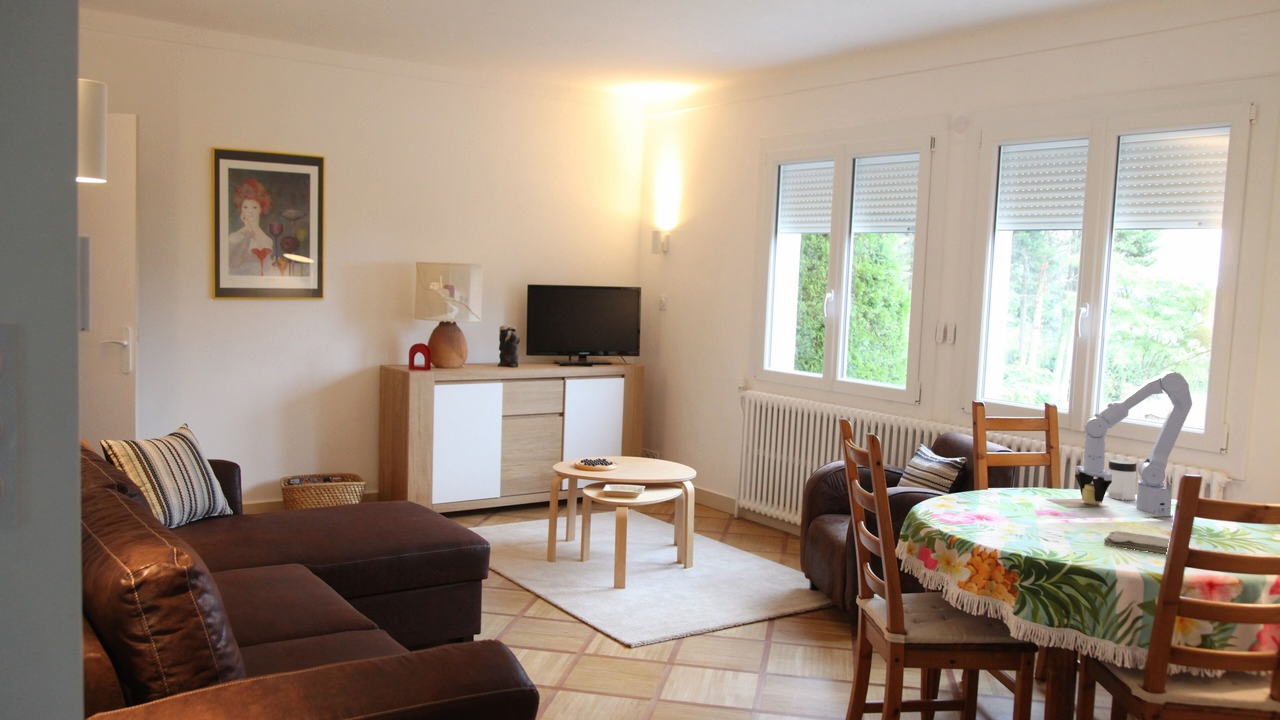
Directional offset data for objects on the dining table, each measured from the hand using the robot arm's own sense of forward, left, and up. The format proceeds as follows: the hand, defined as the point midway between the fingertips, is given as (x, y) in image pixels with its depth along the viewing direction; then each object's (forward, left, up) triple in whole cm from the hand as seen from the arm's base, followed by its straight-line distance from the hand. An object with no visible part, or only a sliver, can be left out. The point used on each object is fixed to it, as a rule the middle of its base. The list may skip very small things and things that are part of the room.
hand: (1092, 499), depth 299 cm
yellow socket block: (0, 0, -1) cm, 1 cm away
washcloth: (-45, +15, -4) cm, 48 cm away
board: (+2, +4, -3) cm, 5 cm away
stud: (0, 0, -2) cm, 2 cm away
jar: (+14, -20, -3) cm, 25 cm away
